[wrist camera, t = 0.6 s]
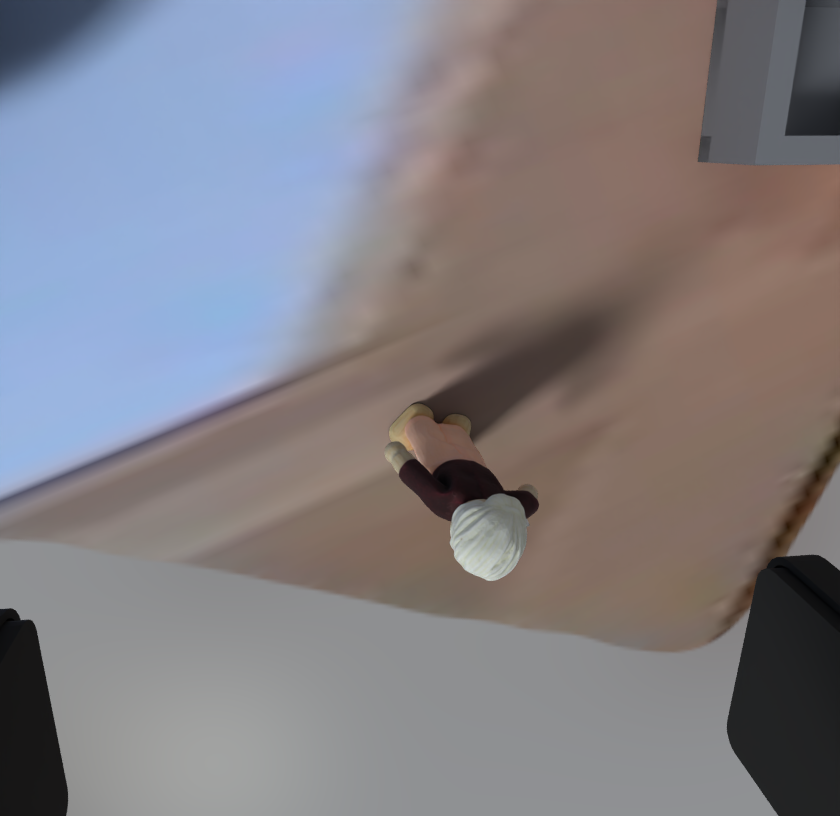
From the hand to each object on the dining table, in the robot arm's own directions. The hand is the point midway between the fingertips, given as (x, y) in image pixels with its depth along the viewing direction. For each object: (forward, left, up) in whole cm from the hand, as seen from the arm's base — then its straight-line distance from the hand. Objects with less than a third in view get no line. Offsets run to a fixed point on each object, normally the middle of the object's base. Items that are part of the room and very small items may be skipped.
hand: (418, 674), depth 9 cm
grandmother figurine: (+9, +5, -29) cm, 31 cm away
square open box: (-9, +22, -29) cm, 37 cm away
